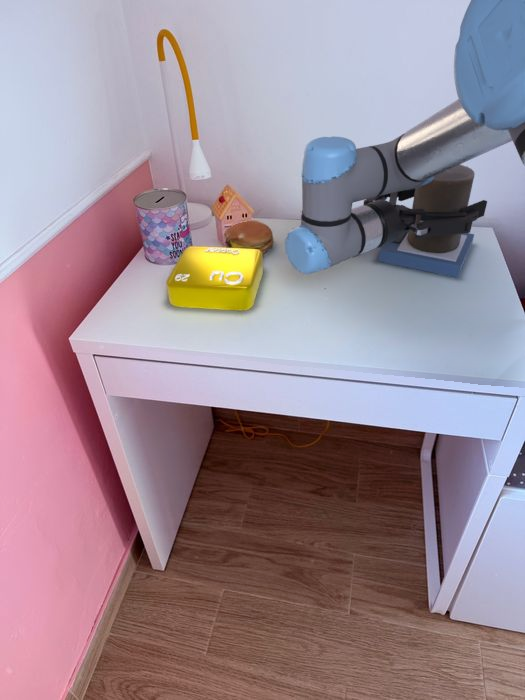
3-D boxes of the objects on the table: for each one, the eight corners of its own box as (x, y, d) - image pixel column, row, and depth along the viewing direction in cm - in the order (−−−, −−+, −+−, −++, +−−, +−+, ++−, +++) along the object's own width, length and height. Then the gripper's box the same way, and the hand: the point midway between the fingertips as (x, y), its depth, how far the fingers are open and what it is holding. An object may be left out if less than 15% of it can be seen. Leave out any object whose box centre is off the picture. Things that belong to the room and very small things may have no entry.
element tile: (264, 268, 100) (264, 245, 97) (251, 312, 88) (250, 288, 85) (188, 264, 102) (186, 242, 99) (166, 307, 90) (162, 283, 87)
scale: (471, 245, 105) (474, 232, 103) (458, 277, 95) (461, 263, 93) (398, 232, 110) (399, 219, 108) (378, 261, 100) (379, 248, 99)
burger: (273, 236, 110) (273, 215, 107) (272, 258, 103) (272, 236, 100) (227, 237, 111) (225, 216, 108) (223, 258, 103) (221, 237, 100)
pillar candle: (441, 259, 95) (458, 177, 85) (396, 242, 100) (408, 164, 91) (469, 241, 100) (488, 162, 90) (425, 226, 105) (438, 150, 96)
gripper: (320, 223, 98) (399, 195, 107) (422, 276, 81) (506, 238, 90) (321, 184, 93) (404, 158, 102) (431, 232, 77) (518, 197, 86)
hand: (452, 196), depth 96 cm, fingers open, 13 cm apart
